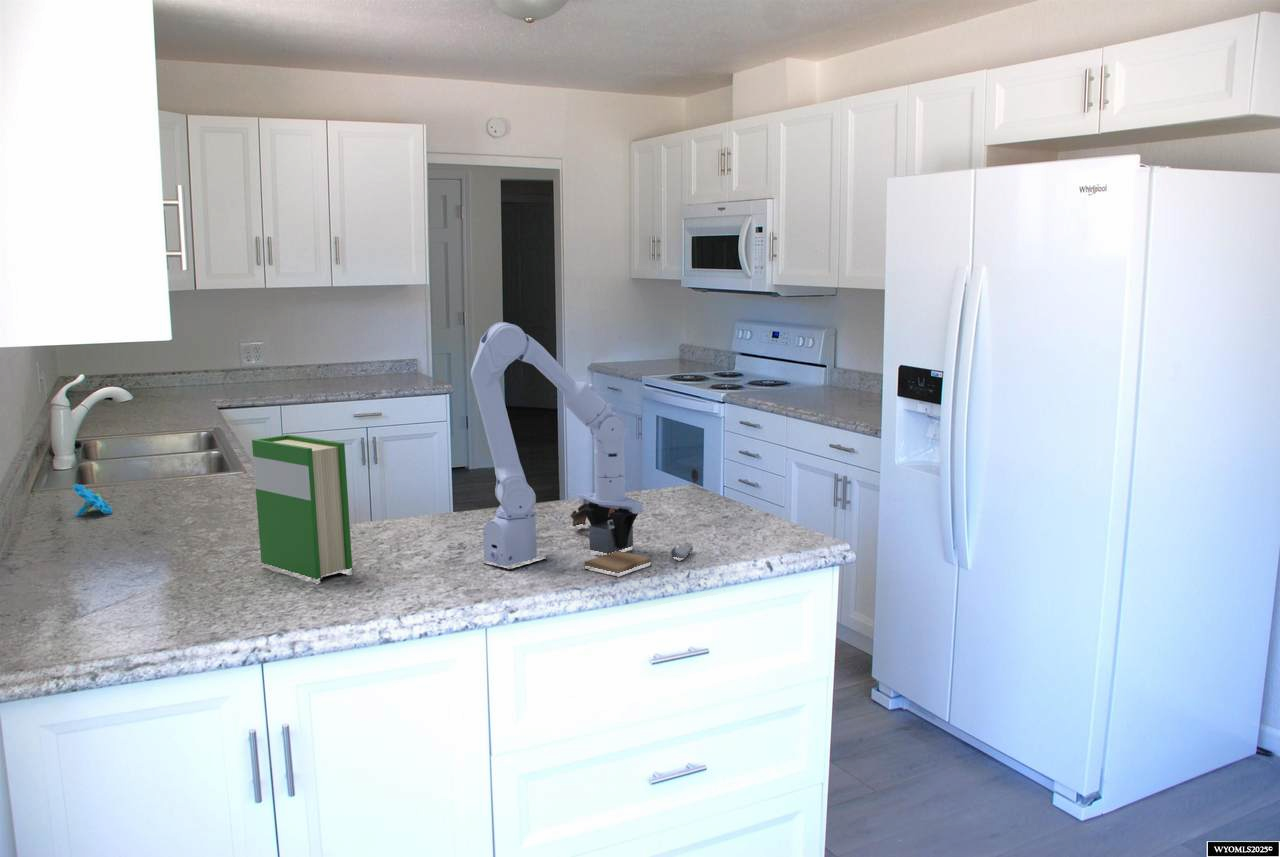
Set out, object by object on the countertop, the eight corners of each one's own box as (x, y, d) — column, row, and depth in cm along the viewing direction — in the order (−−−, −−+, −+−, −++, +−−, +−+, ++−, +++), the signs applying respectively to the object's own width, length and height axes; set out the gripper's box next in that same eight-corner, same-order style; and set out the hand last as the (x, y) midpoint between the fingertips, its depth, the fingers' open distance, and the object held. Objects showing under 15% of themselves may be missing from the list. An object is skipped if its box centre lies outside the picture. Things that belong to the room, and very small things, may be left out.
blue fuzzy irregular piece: (108, 511, 228) (72, 482, 226) (89, 531, 227) (52, 502, 225) (120, 507, 239) (85, 480, 237) (102, 526, 238) (66, 499, 236)
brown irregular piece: (611, 542, 202) (589, 507, 201) (579, 556, 207) (557, 522, 206) (639, 514, 211) (618, 481, 210) (607, 528, 217) (587, 496, 216)
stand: (617, 577, 176) (617, 569, 175) (584, 569, 181) (584, 561, 181) (651, 565, 182) (650, 557, 182) (618, 558, 188) (618, 550, 187)
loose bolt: (685, 562, 184) (685, 547, 184) (671, 560, 185) (671, 546, 185) (695, 553, 190) (695, 539, 189) (681, 552, 191) (681, 538, 190)
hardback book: (352, 574, 181) (344, 442, 177) (316, 584, 175) (307, 449, 171) (297, 559, 192) (288, 434, 188) (261, 568, 186) (251, 440, 182)
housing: (608, 558, 188) (607, 528, 187) (589, 554, 191) (589, 524, 190) (633, 550, 193) (632, 520, 192) (614, 546, 196) (614, 517, 195)
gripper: (652, 475, 188) (654, 546, 190) (596, 467, 197) (598, 534, 199) (627, 482, 183) (629, 554, 185) (571, 473, 192) (573, 542, 194)
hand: (611, 545), depth 192 cm, fingers closed on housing, 5 cm apart
